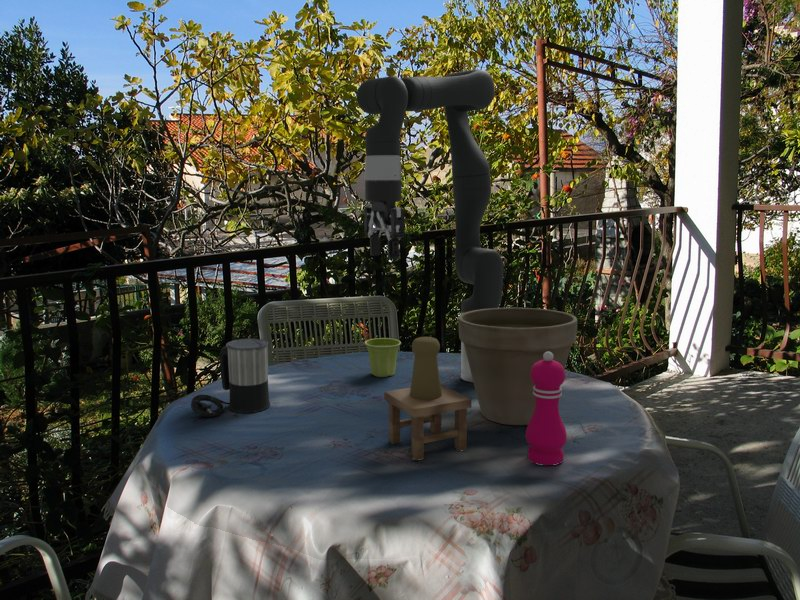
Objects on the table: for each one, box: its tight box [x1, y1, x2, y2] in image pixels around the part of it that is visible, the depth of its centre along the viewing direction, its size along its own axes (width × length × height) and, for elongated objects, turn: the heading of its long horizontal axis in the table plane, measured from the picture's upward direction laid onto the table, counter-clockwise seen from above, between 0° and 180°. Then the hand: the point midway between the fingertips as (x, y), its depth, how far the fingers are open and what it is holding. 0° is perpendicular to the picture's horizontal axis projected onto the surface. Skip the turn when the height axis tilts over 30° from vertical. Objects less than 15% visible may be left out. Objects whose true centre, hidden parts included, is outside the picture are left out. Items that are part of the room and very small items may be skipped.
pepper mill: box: [525, 351, 568, 465], centre depth 124 cm, size 7×7×20 cm
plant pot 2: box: [457, 307, 578, 426], centre depth 148 cm, size 25×25×22 cm
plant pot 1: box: [364, 337, 402, 378], centre depth 181 cm, size 9×9×9 cm
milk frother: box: [190, 338, 271, 417], centre depth 153 cm, size 14×16×15 cm
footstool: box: [383, 383, 472, 461], centre depth 131 cm, size 12×12×10 cm
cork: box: [410, 336, 442, 400], centre depth 130 cm, size 6×6×11 cm
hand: (384, 256), depth 146 cm, fingers open, 8 cm apart
